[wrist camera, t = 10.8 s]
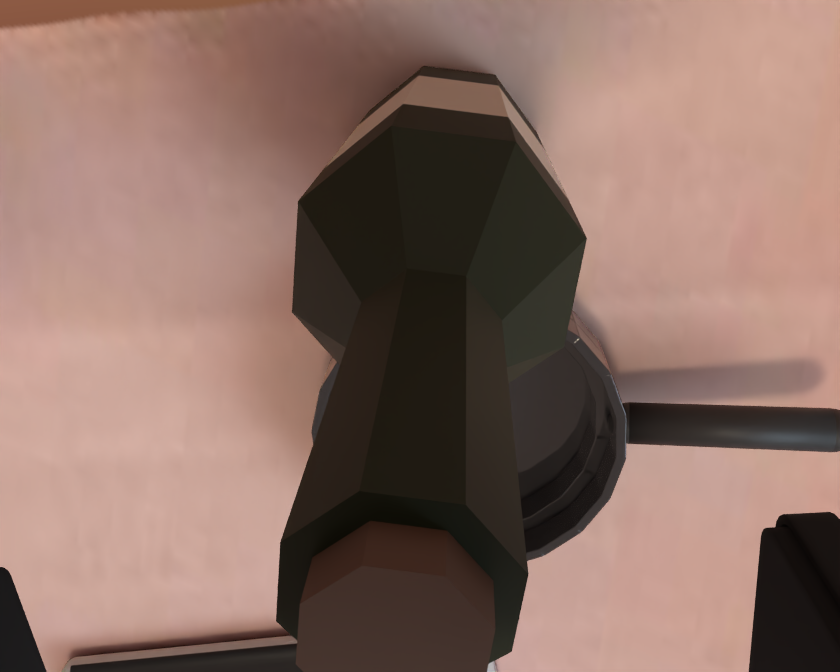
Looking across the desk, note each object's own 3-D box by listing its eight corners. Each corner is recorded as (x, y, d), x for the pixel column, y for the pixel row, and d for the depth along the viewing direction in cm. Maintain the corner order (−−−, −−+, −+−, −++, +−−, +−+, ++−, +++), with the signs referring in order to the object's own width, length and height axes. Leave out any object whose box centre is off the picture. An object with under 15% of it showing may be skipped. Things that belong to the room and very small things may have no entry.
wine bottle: (413, 25, 35) (210, 172, 7) (574, 122, 36) (914, 555, 9) (328, 189, 38) (-36, 721, 10) (479, 273, 39) (507, 943, 12)
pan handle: (605, 431, 40) (617, 470, 37) (605, 396, 39) (617, 433, 36) (827, 420, 39) (860, 459, 36) (832, 384, 39) (866, 420, 35)
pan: (345, 525, 46) (334, 575, 42) (307, 279, 40) (291, 310, 36) (610, 514, 44) (624, 564, 41) (612, 259, 39) (629, 289, 35)
